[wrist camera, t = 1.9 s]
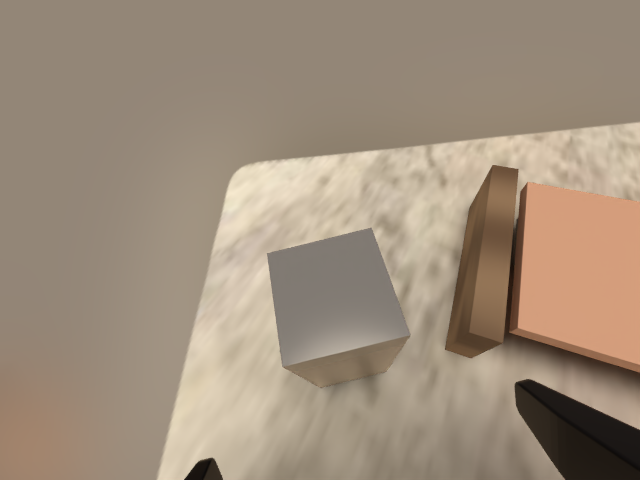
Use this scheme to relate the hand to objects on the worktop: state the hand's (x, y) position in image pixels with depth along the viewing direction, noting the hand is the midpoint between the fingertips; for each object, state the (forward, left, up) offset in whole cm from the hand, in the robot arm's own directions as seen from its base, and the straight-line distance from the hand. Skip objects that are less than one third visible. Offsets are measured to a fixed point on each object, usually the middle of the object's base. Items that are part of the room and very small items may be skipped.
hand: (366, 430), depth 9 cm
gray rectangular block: (+4, +2, -11) cm, 12 cm away
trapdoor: (+12, -12, -10) cm, 20 cm away
